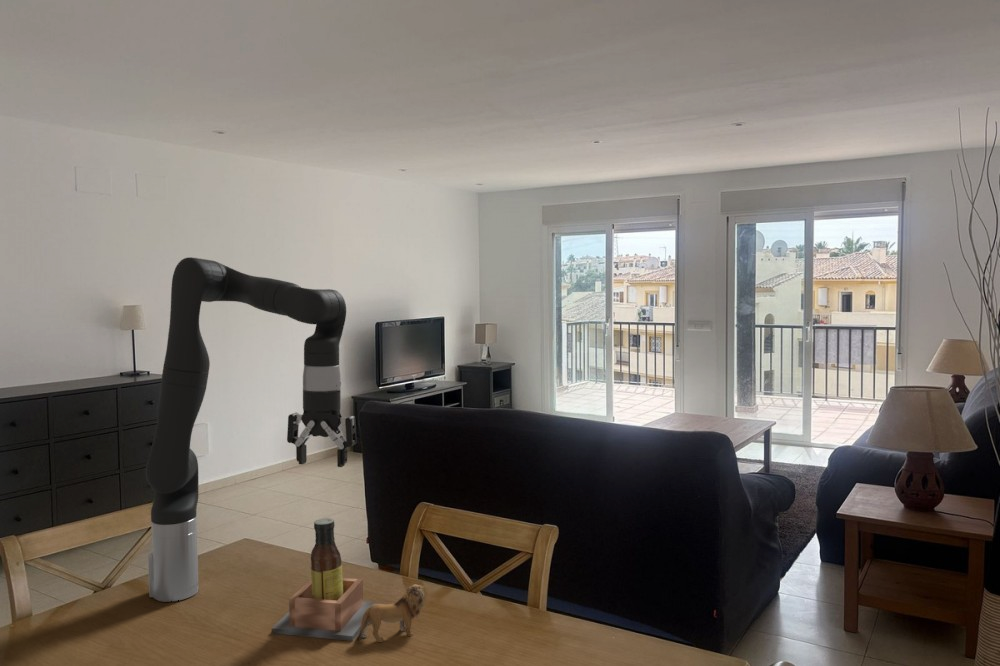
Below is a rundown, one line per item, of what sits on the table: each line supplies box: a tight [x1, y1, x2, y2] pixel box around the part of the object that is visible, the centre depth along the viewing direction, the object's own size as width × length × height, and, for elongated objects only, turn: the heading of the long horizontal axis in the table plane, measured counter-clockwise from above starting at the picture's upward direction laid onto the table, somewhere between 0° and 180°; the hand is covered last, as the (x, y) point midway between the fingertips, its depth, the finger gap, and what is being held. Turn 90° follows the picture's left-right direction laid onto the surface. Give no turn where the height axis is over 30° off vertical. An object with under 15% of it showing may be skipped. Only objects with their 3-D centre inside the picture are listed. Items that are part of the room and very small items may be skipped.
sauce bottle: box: [310, 517, 344, 601], centre depth 149 cm, size 6×6×20 cm
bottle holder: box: [271, 577, 380, 642], centre depth 149 cm, size 17×15×6 cm
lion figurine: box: [354, 584, 426, 643], centre depth 142 cm, size 15×5×9 cm, turn 121°
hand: (321, 464), depth 148 cm, fingers open, 8 cm apart
